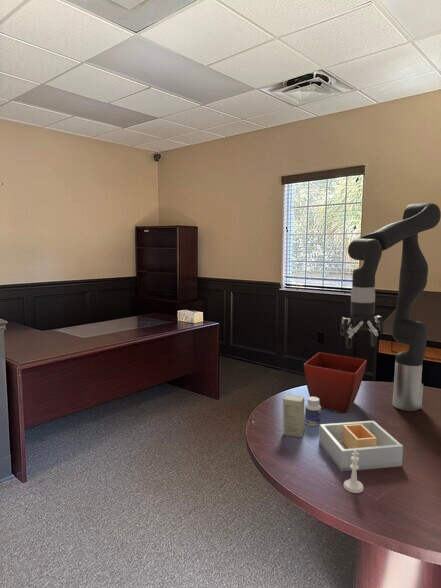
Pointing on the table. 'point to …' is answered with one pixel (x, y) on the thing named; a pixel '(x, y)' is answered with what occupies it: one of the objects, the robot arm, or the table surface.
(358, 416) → the table surface
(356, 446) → the small crate
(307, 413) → the pill bottle
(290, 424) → the skincare box
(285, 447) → the table surface
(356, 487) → the chess piece
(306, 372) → the plant pot
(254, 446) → the table surface
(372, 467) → the big crate
